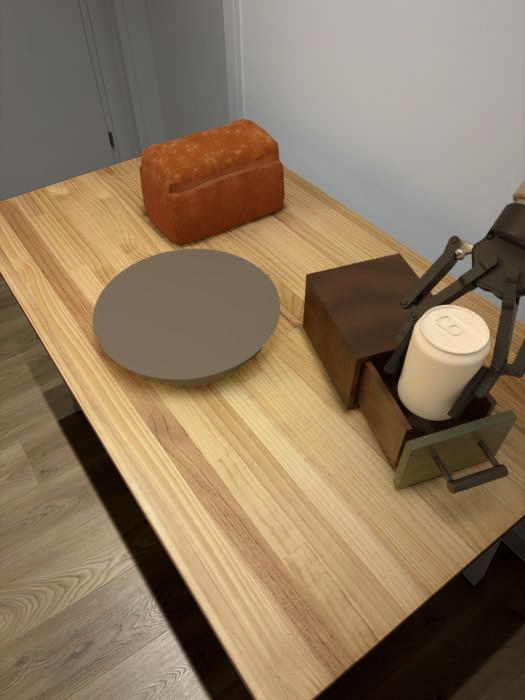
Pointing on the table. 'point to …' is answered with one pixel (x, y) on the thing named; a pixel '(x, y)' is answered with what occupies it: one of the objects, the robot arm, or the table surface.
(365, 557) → the table surface
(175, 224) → the bread
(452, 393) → the beverage can
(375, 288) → the cabinet
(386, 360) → the drawer
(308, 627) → the table surface
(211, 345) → the flat disc
